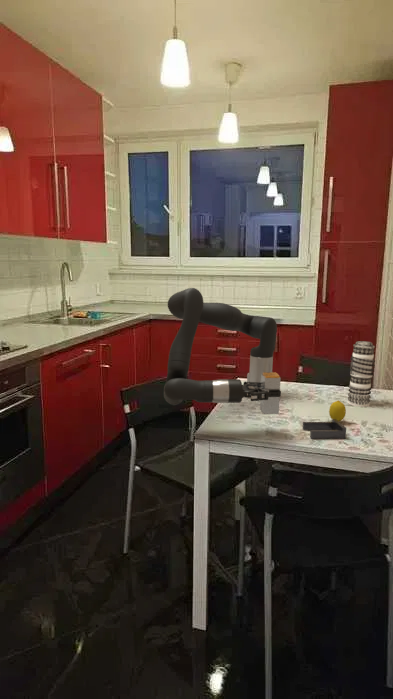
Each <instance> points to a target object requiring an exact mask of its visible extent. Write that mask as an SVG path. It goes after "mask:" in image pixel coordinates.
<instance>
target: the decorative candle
mask: <svg viewBox="0 0 393 699" xmlns="http://www.w3.org/2000/svg"><path fill="white" fill-rule="evenodd" d="M352 346H353V351H352V354H351V355H350V358H349V359H350V361H351V362H350V363H349V364H350V365H349V366H350V367H349V369H350V372H349V374H350V381H349V385H348V388H349V389H348V393H347V404H349V405H351V406H354V407H359V408H360V407H361V408H363V407H364V408H365V407H369V406H370V402H371V394H372V391H371V390H372V383H371V382H372V378H373V375H374V373H373V372H374V368H373V367H375V364H374V363H375V362H376V360H374V358H375V355H374V351H375V348H376V345H373V342H371V341H365V340H364V341H363V340H360V341H356V342H355V344H353V345H352Z"/></svg>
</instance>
